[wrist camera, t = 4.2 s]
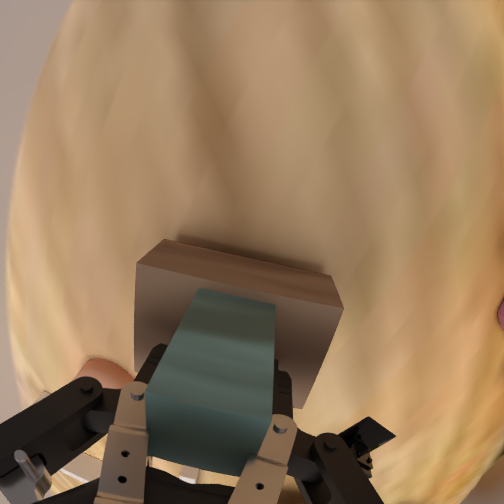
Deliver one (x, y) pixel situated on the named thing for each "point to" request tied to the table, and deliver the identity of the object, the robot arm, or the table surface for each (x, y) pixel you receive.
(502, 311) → the teakettle
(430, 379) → the table surface
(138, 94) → the table surface
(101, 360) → the pink rounded dome
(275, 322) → the brown and teal block
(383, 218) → the table surface
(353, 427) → the black angular piece
